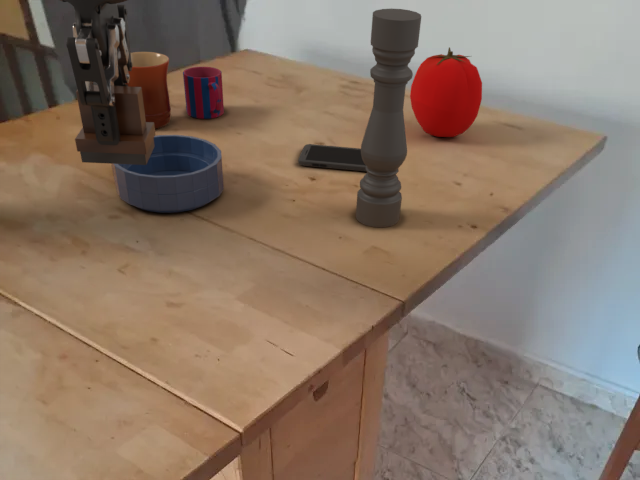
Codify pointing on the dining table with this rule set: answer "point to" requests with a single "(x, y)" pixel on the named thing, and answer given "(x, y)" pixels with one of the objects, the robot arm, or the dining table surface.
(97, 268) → the dining table surface
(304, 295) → the dining table surface
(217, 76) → the cup
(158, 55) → the mug
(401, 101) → the candle holder
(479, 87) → the tomato
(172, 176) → the bowl
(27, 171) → the dining table surface
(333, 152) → the cell phone
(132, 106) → the brown wooden stepped block
